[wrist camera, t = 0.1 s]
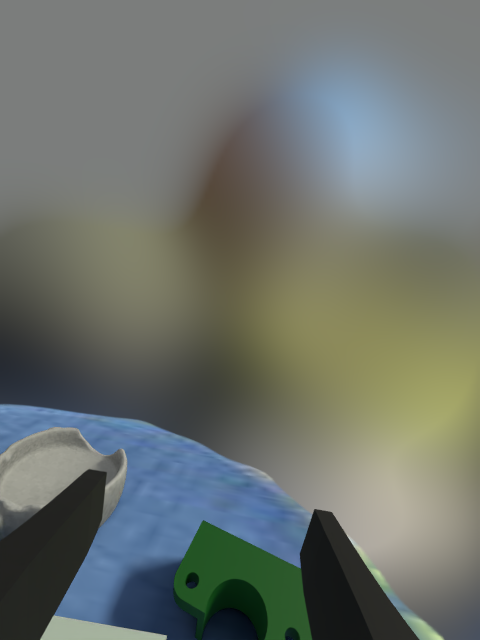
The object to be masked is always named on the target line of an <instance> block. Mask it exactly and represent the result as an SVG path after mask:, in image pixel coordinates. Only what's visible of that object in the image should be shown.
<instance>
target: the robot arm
mask: <svg viewBox="0 0 480 640" xmlns="http://www.w3.org/2000/svg"><path fill="white" fill-rule="evenodd" d="M106 477H107V472H104V471H98V470H92V469H88V470H86V471H85V472H84V473H83V474H82V475H80V476H79V477H78V478H77V479H76V480H75V481H74V482H73V483H71V484H70V485H69V486H68V487H67V488H66V489H64V490H63V491H62V492H61V493H60V494H59V495H57V496H56V497H55V498H54V499H53V500H51V501H50V502H49V503H48V504H47V505H45V506H44V507H43V508H42V509H40V510H39V511H38V512H37V513H36V514H34V515H33V516H32V517H31V518H29V519H28V520H27V521H26V522H24V523H23V524H22V525H21V526H19V527H18V528H17V529H15V530H14V531H13V532H11V533H10V534H9V535H7V536H6V537H5V538H3V539H2V540H1V541H0V640H40V639H41V637H42V636H43V634H44V632H45V630H46V628H47V626H48V625H49V623H50V621H51V619H52V617H53V616H54V614H55V612H56V610H57V608H58V607H59V605H60V603H61V601H62V599H63V597H64V596H65V594H66V592H67V590H68V588H69V587H70V585H71V583H72V581H73V579H74V577H75V576H76V574H77V572H78V570H79V568H80V566H81V565H82V563H83V561H84V559H85V557H86V555H87V553H88V551H89V549H90V546H91V544H92V542H93V540H94V537H95V535H96V533H97V530H98V528H99V526H100V523H101V521H102V515H103V506H104V496H105V486H106ZM300 562H301V574H302V584H303V593H304V598H305V604H306V609H307V615H308V620H309V626H310V631H311V636H312V640H419V639H418V637H417V636H416V635H415V633H414V632H413V631H412V630H411V628H410V627H409V626H408V624H407V623H406V622H405V620H404V619H403V618H402V616H401V615H400V613H399V612H398V611H397V609H396V608H395V607H394V605H393V604H392V603H391V601H390V600H389V598H388V597H387V596H386V594H385V593H384V591H383V590H382V588H381V587H380V585H379V584H378V582H377V581H376V580H375V578H374V577H373V575H372V574H371V572H370V571H369V569H368V568H367V566H366V565H365V563H364V562H363V560H362V559H361V557H360V556H359V554H358V552H357V551H356V549H355V548H354V546H353V545H352V543H351V541H350V540H349V538H348V537H347V535H346V534H345V532H344V530H343V529H342V527H341V526H340V524H339V523H338V521H337V520H336V518H335V516H334V515H333V513H332V512H328V511H322V510H317V509H315V510H314V512H313V515H312V518H311V522H310V525H309V528H308V531H307V534H306V537H305V540H304V543H303V546H302V549H301V552H300Z"/></svg>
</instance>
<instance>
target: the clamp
mask: <svg viewBox="0 0 480 640" xmlns="http://www.w3.org/2000/svg"><path fill="white" fill-rule="evenodd" d="M189 582H195V583H196V584H197V587H195V588H193V589H190V588H188V587H187V586H186V585H187V583H189ZM173 594H174V599H175V602H176V604H177V605H178V606H179V607H180V608H181V609H182V610H184V611H186V612H187V613H189V614H191V615H192V616H194V617H195V618H197V626H196V635H195V638H196V639H198V640H202V635H203V631H204V629H205V626H206V624H207V622H208V621H209V619H210V618H211V617H212V616H213V615H214V614H215V613H216V612H218V611H219V610H221V609H225V608H235V609H238V610H240V611H242V612H243V613H244V614H246V615H247V616H248V617H249V619H250V620H251V622H252V623H253V625H254V627H255V629H256V632H257V636H258V640H285V637H286V636H289V637H291V638H292V639H293V640H312V636H311V631H310V626H309V620H308V615H307V609H306V604H305V598H304V593H303V584H302V574H301V569H300V568H298V567H296V566H294V565H292V564H290V563H288V562H286V561H284V560H282V559H280V558H278V557H276V556H274V555H272V554H270V553H268V552H266V551H264V550H262V549H260V548H258V547H256V546H254V545H252V544H250V543H248V542H246V541H244V540H242V539H240V538H238V537H236V536H234V535H232V534H230V533H228V532H226V531H224V530H222V529H220V528H218V527H216V526H214V525H212V524H210V523H208V522H206V521H204V520H203V521H202V523H201V525H200V527H199V529H198V531H197V533H196V535H195V537H194V539H193V541H192V543H191V545H190V547H189V549H188V551H187V552H186V554H185V556H184V558H183V560H182V562H181V564H180V566H179V568H178V570H177V572H176V574H175V578H174V591H173Z"/></svg>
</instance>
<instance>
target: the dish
mask: <svg viewBox="0 0 480 640" xmlns="http://www.w3.org/2000/svg"><path fill="white" fill-rule="evenodd" d="M88 469H92V470H98V471H104V472H107V477H106V486H105V496H104V506H103V515H102V521H101V523H100V526H101V525H102V524H103V523H104V522H105V521H106V520H107V519H108V518H109V517H110V515H111V514H112V512H113V511H114V509H115V508H116V506H117V504H118V502H119V499H120V497H121V494H122V491H123V488H124V484H125V479H126V472H127V458H126V454H125V452H124V450H123V449H119V450H118V451H116V452H115V453H114V454H112V455H102V454H100V453H99V452H97V451H96V450H95V449H93V448H92V447H91V446H90V444H89V443H88V442H87V441H86V440H85V439H84V438H83V436H82V435H81V433H80V431H79V430H78V429H76V428H60V427H53V428H50V429H48V430H46V431H41V432H38V433H35V434H33V435H30V436H28V437H26V438H24V439H21V440H19V441H17V442H15V443H14V444H12V445H10V446H9V447H8V448H7V450H6V451H5V452H4V453H2V454H1V455H0V540H2V539H3V538H5V537H6V536H7V535H9V534H10V533H11V532H13V531H14V530H15V529H17V528H18V527H19V526H21V525H22V524H23V523H24V522H26V521H27V520H28V519H29V518H31V517H32V516H33V515H34V514H36V513H37V512H38V511H39V510H40V509H42V508H43V507H44V506H45V505H47V504H48V503H49V502H50V501H51V500H53V499H54V498H55V497H56V496H57V495H59V494H60V493H61V492H62V491H63V490H64V489H66V488H67V487H68V486H69V485H70V484H71V483H73V482H74V481H75V480H76V479H77V478H78V477H79V476H80V475H82V474H83V473H84V472H85V471H86V470H88ZM100 526H99V527H100Z"/></svg>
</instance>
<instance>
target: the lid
mask: <svg viewBox="0 0 480 640" xmlns="http://www.w3.org/2000/svg"><path fill="white" fill-rule="evenodd" d="M166 638H167V635H161V634H155V633H150V632H144V631H138V630H133V629H127V628H121V627H116V626H110V625H104V624H98V623H93V622H87V621H81V620H76V619H70V618H64V617H59V616H53V617H52V619H51V621H50V623H49V625H48V626H47V628H46V630H45V632H44V634H43V636H42V637H41V639H40V640H166Z"/></svg>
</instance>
